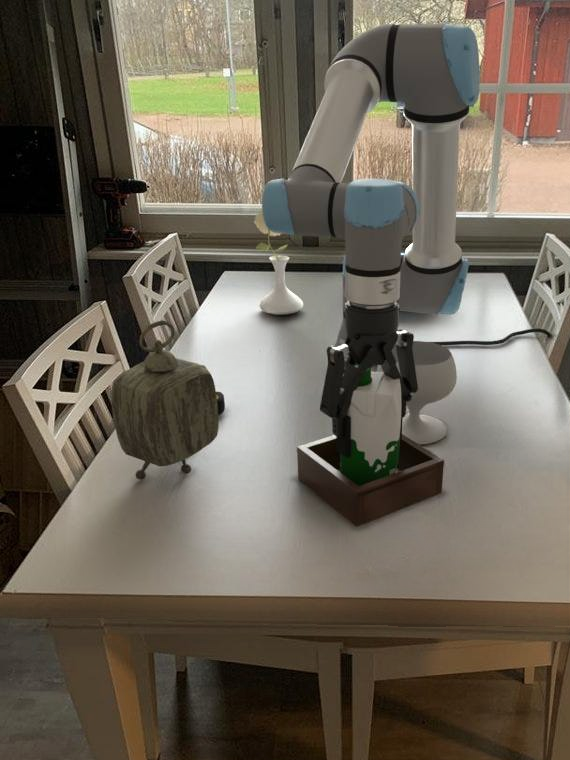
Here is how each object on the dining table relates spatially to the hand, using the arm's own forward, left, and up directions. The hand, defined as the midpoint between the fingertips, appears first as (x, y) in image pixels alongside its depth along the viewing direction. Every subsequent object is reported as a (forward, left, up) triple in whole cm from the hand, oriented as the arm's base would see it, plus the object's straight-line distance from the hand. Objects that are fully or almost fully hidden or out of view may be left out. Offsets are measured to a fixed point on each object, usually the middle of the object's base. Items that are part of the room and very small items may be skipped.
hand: (369, 444), depth 112 cm
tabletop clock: (+23, -22, -8) cm, 33 cm away
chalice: (-18, -11, -8) cm, 23 cm away
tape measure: (+10, -39, -8) cm, 41 cm away
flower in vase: (-32, -84, -8) cm, 90 cm away
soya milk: (0, 0, -8) cm, 8 cm away
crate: (0, 0, -7) cm, 7 cm away
